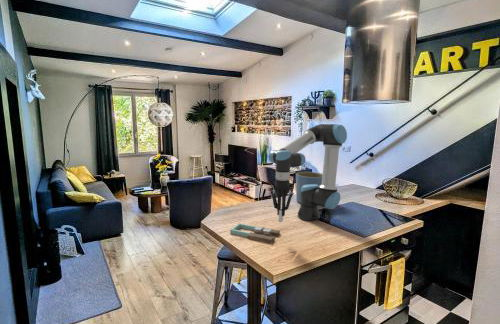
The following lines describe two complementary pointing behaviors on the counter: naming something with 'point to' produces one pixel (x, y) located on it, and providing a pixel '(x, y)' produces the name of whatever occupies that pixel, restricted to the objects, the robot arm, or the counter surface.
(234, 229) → the tray
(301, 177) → the planter
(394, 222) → the counter surface
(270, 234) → the grey wood-grain cube
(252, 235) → the slot board
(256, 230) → the grey cube-shaped block
